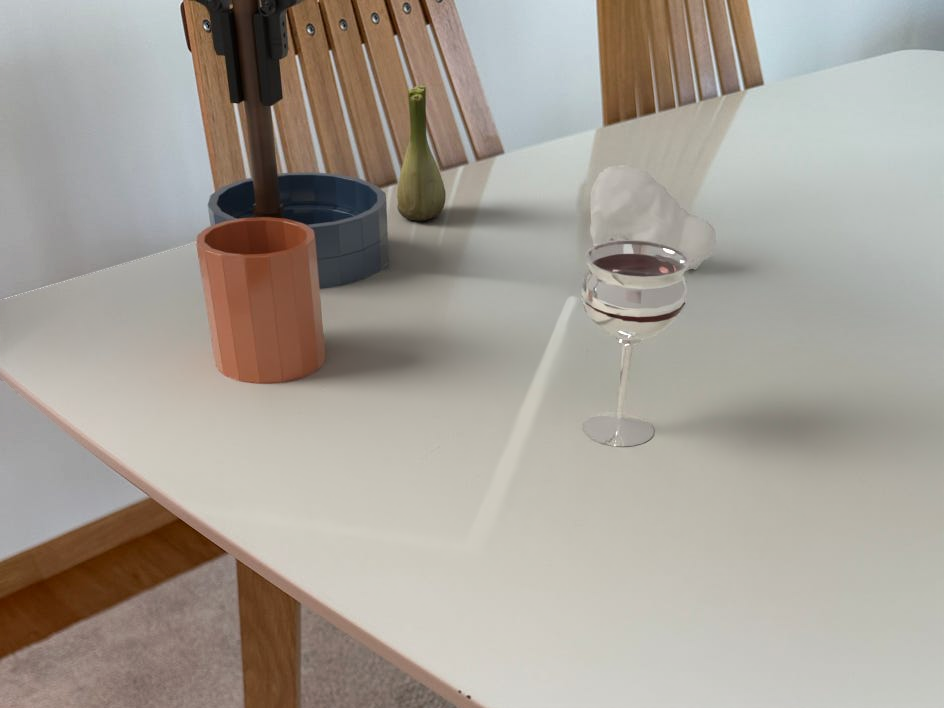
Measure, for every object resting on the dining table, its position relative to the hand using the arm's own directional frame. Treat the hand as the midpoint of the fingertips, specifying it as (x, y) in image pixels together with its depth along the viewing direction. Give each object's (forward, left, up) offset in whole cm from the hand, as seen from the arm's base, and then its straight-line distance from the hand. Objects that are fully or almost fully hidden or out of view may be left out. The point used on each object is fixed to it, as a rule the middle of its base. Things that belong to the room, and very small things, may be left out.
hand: (256, 100), depth 88 cm
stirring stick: (0, 0, -11) cm, 11 cm away
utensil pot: (+8, -21, -14) cm, 26 cm away
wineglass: (+35, -24, -14) cm, 44 cm away
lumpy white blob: (+34, +8, -14) cm, 37 cm away
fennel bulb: (+10, +16, -14) cm, 24 cm away
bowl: (+3, 0, -14) cm, 14 cm away
